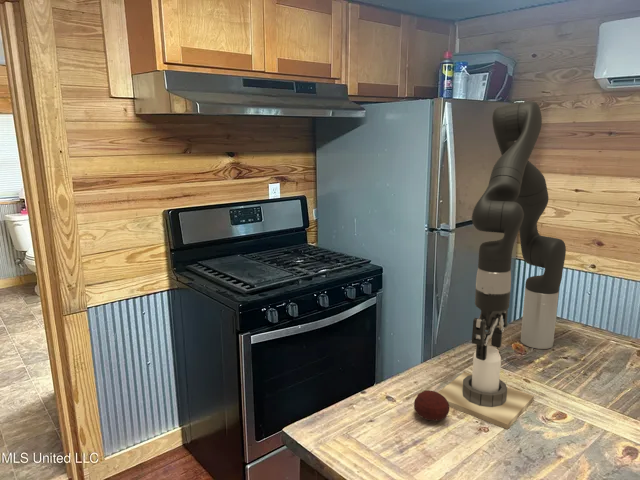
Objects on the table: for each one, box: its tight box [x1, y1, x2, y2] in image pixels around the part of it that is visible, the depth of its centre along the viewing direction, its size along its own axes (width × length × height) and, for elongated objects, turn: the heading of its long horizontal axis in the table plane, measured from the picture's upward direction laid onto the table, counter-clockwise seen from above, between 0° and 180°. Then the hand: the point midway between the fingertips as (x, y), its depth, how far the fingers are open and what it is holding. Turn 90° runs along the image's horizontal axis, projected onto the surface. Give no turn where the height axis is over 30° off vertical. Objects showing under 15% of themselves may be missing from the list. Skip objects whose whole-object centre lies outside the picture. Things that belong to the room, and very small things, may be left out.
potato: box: [413, 389, 450, 421], centre depth 112 cm, size 7×8×6 cm
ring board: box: [437, 371, 535, 430], centre depth 119 cm, size 16×18×4 cm
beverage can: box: [471, 344, 502, 393], centre depth 118 cm, size 6×6×12 cm
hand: (488, 352), depth 116 cm, fingers open, 8 cm apart
